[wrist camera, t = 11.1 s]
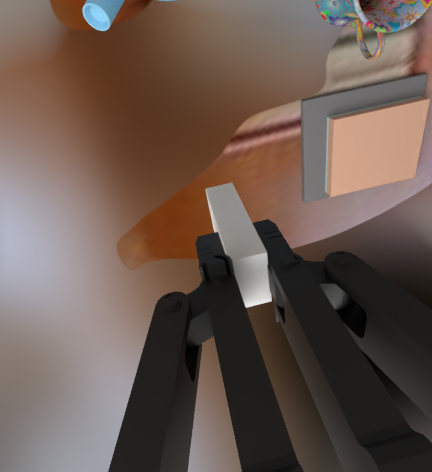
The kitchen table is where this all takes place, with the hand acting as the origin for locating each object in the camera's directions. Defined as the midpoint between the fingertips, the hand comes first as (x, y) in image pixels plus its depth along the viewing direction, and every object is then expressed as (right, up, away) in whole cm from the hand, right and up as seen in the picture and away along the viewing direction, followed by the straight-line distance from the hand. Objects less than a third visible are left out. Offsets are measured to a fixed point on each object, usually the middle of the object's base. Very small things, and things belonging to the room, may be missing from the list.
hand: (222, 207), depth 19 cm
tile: (+17, +10, +30) cm, 36 cm away
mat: (+21, +13, +32) cm, 40 cm away
